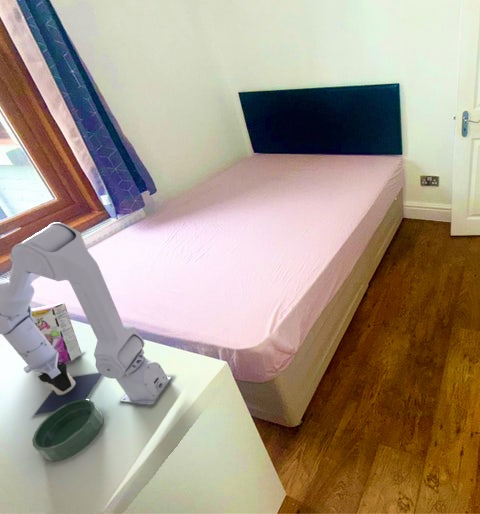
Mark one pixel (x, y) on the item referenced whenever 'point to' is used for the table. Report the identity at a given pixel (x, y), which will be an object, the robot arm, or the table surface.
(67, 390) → the cream jar
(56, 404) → the napkin
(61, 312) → the candy bar box
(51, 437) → the bowl
